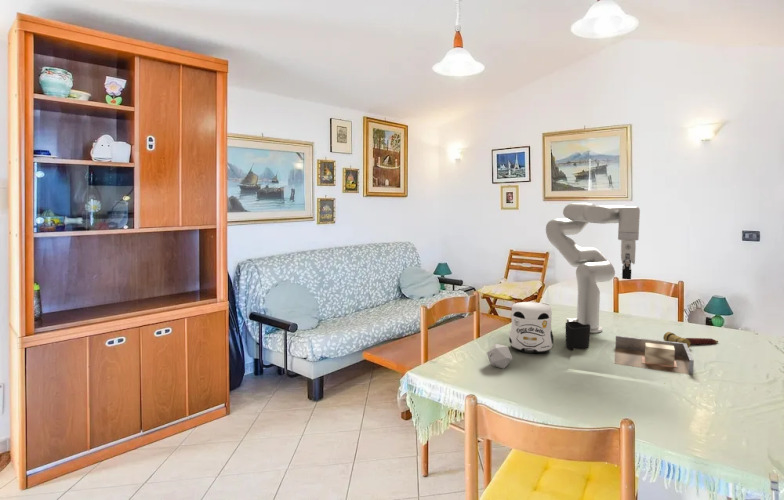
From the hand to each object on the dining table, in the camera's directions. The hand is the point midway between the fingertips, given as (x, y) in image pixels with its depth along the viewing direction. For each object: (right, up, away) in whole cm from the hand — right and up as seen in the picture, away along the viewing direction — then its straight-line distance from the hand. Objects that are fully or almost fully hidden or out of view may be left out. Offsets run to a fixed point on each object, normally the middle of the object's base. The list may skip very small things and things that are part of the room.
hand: (626, 277), depth 186 cm
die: (-58, -32, -20) cm, 69 cm away
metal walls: (-1, -31, -19) cm, 36 cm away
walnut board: (-1, -31, -19) cm, 36 cm away
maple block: (0, -30, -22) cm, 37 cm away
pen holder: (-22, -29, -2) cm, 36 cm away
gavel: (+29, -29, 0) cm, 41 cm away
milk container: (-41, -30, -2) cm, 50 cm away
